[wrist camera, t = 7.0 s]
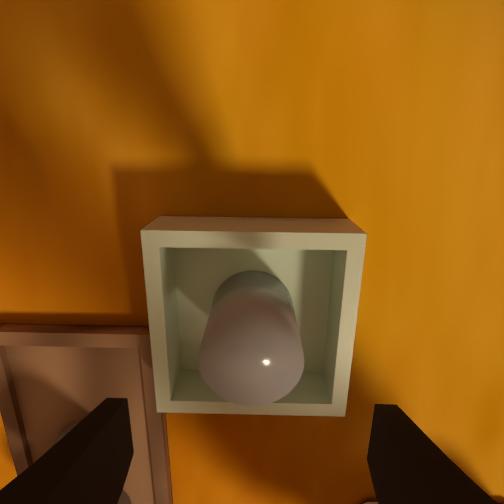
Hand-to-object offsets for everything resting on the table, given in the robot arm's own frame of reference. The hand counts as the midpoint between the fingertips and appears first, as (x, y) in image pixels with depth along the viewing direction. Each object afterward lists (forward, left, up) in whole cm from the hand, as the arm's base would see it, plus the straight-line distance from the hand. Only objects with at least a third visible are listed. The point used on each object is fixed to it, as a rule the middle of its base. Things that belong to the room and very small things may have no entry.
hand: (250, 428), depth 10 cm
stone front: (0, 0, -8) cm, 8 cm away
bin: (0, 0, -8) cm, 8 cm away
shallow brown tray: (+10, +9, -8) cm, 16 cm away
